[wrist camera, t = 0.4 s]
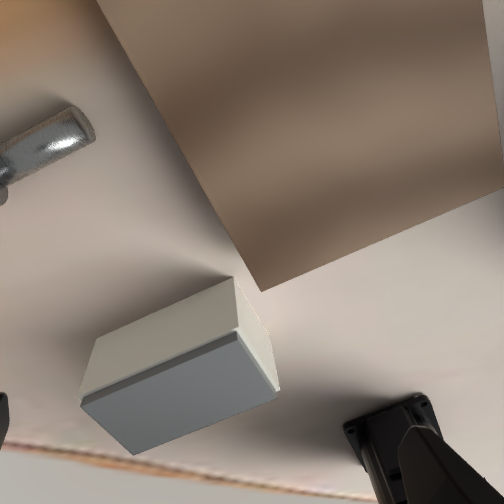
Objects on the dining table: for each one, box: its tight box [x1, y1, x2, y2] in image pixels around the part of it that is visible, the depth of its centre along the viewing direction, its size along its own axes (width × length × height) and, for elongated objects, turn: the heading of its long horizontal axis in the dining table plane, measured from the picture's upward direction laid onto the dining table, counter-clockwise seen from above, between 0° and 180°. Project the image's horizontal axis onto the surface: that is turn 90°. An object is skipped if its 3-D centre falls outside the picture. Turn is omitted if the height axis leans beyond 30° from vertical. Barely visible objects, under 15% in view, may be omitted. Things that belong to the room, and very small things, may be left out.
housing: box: [78, 277, 280, 456], centre depth 23 cm, size 9×5×5 cm, turn 115°
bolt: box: [0, 106, 96, 206], centre depth 17 cm, size 6×3×3 cm, turn 115°
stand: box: [96, 0, 504, 292], centre depth 16 cm, size 16×12×3 cm
